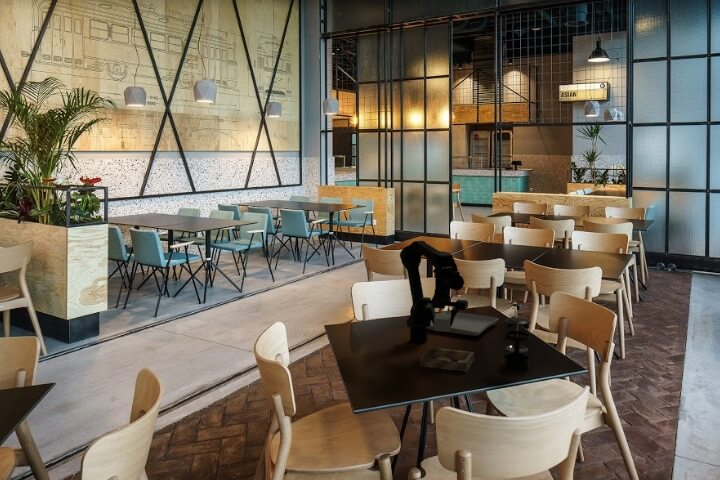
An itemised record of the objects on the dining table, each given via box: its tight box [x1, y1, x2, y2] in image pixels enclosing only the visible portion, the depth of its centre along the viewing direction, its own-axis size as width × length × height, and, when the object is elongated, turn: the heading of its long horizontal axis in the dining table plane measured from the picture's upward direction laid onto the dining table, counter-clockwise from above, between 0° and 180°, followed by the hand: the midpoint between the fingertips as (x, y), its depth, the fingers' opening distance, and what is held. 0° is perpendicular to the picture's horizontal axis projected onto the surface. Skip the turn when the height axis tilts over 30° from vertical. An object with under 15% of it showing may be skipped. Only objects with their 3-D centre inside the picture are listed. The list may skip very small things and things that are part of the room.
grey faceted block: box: [433, 313, 451, 332], centre depth 229 cm, size 6×9×4 cm, turn 169°
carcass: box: [419, 347, 475, 373], centre depth 219 cm, size 17×13×4 cm
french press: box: [502, 303, 532, 371], centre depth 215 cm, size 12×9×23 cm
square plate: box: [427, 311, 500, 337], centre depth 266 cm, size 27×27×4 cm
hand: (442, 325), depth 229 cm, fingers closed on grey faceted block, 6 cm apart
